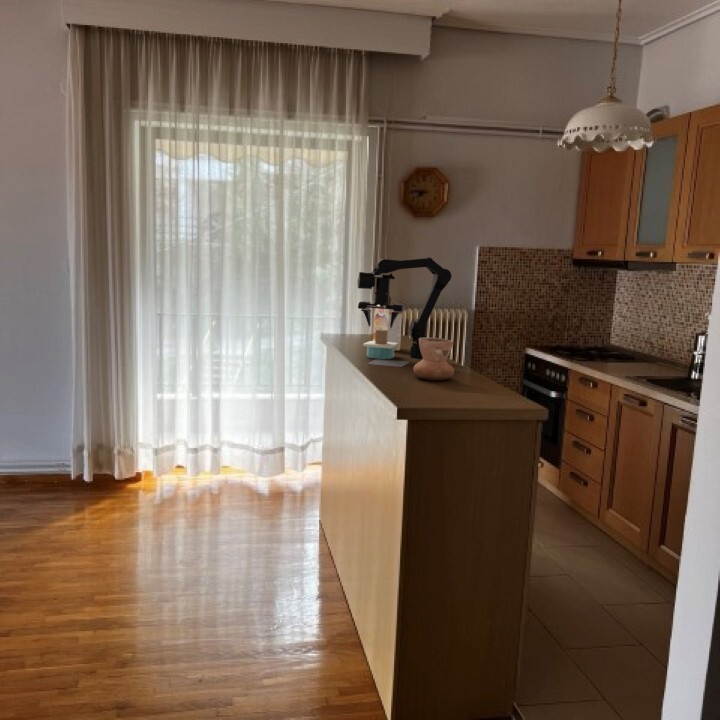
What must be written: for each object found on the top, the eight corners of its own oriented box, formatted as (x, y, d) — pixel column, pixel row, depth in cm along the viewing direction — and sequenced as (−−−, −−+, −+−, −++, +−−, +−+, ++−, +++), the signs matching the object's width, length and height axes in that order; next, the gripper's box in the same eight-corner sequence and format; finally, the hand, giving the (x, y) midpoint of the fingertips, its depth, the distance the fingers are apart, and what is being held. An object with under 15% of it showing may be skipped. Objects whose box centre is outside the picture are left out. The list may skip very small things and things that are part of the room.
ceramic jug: (457, 384, 243) (460, 343, 241) (415, 381, 243) (418, 340, 241) (448, 375, 261) (451, 337, 259) (409, 373, 260) (412, 335, 259)
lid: (398, 345, 298) (399, 330, 297) (391, 348, 287) (392, 332, 286) (370, 342, 302) (371, 327, 301) (363, 346, 290) (363, 330, 289)
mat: (409, 362, 285) (409, 362, 285) (401, 367, 271) (401, 366, 271) (375, 359, 288) (376, 358, 288) (366, 364, 275) (366, 363, 275)
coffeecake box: (372, 346, 330) (374, 304, 327) (385, 345, 333) (387, 304, 330) (386, 350, 317) (389, 307, 314) (400, 350, 320) (403, 307, 317)
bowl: (396, 357, 299) (396, 345, 298) (389, 360, 288) (390, 348, 288) (371, 354, 302) (371, 343, 301) (363, 358, 291) (364, 346, 290)
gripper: (408, 290, 297) (406, 327, 300) (365, 287, 302) (363, 323, 304) (403, 291, 287) (400, 329, 289) (358, 288, 291) (356, 326, 294)
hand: (380, 327), depth 294 cm, fingers open, 9 cm apart
